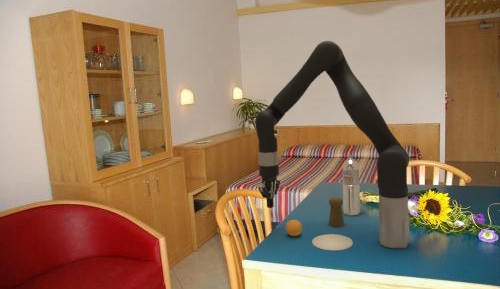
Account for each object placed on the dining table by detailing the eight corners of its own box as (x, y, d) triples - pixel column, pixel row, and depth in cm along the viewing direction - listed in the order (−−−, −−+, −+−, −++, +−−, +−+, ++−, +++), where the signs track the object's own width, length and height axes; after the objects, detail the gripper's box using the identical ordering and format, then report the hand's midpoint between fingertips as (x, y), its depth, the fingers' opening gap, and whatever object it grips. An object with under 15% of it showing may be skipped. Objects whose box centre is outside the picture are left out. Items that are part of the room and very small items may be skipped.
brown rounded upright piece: (344, 227, 155) (343, 200, 153) (328, 227, 156) (327, 200, 154) (344, 222, 161) (343, 195, 159) (328, 221, 162) (327, 195, 160)
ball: (304, 234, 151) (304, 218, 150) (297, 239, 146) (297, 223, 145) (290, 231, 154) (290, 216, 153) (283, 237, 149) (282, 221, 148)
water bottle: (363, 214, 168) (362, 155, 164) (349, 217, 166) (348, 157, 162) (353, 209, 175) (352, 153, 171) (340, 212, 172) (338, 155, 168)
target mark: (358, 238, 144) (358, 238, 144) (344, 253, 132) (344, 253, 132) (321, 232, 151) (321, 231, 151) (305, 246, 140) (305, 245, 140)
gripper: (268, 167, 143) (270, 214, 146) (285, 160, 154) (287, 203, 157) (250, 165, 148) (252, 211, 150) (268, 159, 158) (270, 201, 161)
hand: (270, 207), depth 154 cm, fingers closed
